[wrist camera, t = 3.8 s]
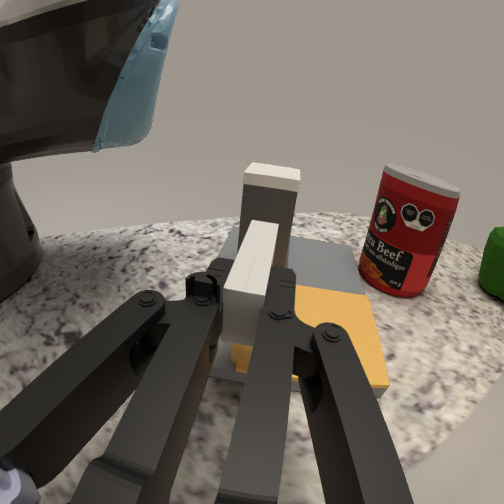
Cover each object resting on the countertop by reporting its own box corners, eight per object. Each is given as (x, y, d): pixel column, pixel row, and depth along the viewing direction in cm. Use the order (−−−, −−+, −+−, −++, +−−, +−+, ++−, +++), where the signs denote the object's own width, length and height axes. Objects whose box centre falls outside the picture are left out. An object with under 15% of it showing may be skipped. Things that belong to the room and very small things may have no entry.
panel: (168, 365, 15) (165, 343, 14) (232, 234, 32) (234, 218, 31) (380, 397, 14) (394, 378, 13) (348, 253, 30) (352, 237, 30)
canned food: (344, 259, 29) (369, 158, 24) (398, 257, 31) (424, 170, 26) (381, 303, 23) (423, 183, 18) (436, 295, 25) (475, 196, 19)
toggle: (234, 275, 22) (244, 172, 18) (242, 253, 25) (252, 162, 21) (281, 283, 22) (300, 180, 18) (284, 260, 25) (299, 169, 21)
